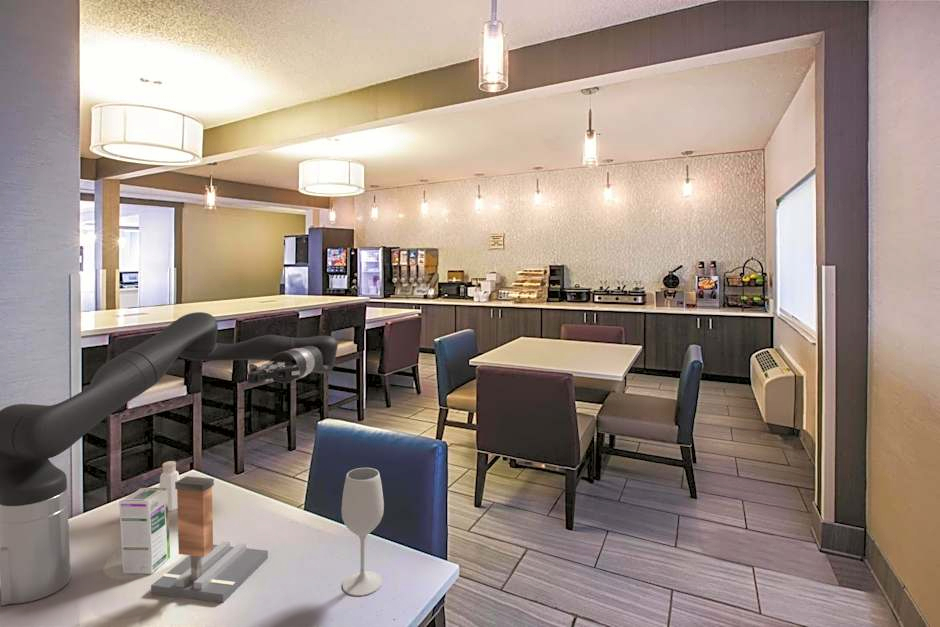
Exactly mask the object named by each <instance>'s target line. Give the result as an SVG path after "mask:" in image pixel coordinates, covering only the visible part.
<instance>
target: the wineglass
mask: <svg viewBox="0 0 940 627" xmlns="http://www.w3.org/2000/svg"><path fill="white" fill-rule="evenodd" d="M380 474H381V473H380V472H379V470H378V469H376V468H372V467H359V468H354V469H352V470H349V471H348V472H347V473H346V475H345V481H344V485H343V492H342V498H341V499H342V500H341V519H342V520H343V523H344V526H345V527H346V528H347V529H348V530H349V531H350V532H351V533H353V534H354V535H356V536H358V537H359V540H360V571H357V572H353V573H352V574H349V575H348V576H347V577H346V578H345V579H344V580H343V581H342V590H343V591H344V592H345V594H348V595H350V596H354V597H364V596H368V595H371V594H373V593H375V592H377V591H379V589H380V588H381V587H382V584H383V578H382V576H381V575H380V574H378V572H374V571H370V570H365V559H366V558H365V552H366V551H365V547H366V546H365V544H366V543H365V542H366V537H367V536H368V535H369V534H370V533H371V532H373V531H374V530H375V529H376V528H377V526H379V524H380V523H381V521H382V518H383V516H384V512H385V511H384V509H385V508H384V507H385V502H384V493H383V485H382V479H381V476H380Z"/></svg>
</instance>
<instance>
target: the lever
mask: <svg viewBox="0 0 940 627" xmlns="http://www.w3.org/2000/svg"><path fill="white" fill-rule="evenodd" d="M214 481H215V479H214V478H211V477H199V476H187V475H186V476H185V477H183V478H181V479H180V480H179V481H177V482H175V489H177V503H178V509H177V539H178V540H177V541H178V543H177V544H178V555H185V556H189V555H191V581H196V580H197V579H198V578H199V577H200V576H201V575H202V557H205V556H206V555H207V554H209V553H210V552H211V551H212V550H213V545H214V532H213V531H214V530H213V529H214V527H213V526H214V524H213V519H214V518H213V486H215V484H214V483H215V482H214Z"/></svg>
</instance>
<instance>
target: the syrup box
mask: <svg viewBox="0 0 940 627" xmlns="http://www.w3.org/2000/svg"><path fill="white" fill-rule="evenodd" d="M169 517H170V516H169V511H168V494H167V489H164V488H159V487H139V489H138V490H136V491H135V492H133V493H131V494H129V495H128V496H125V497H124V498H123V499H121V500H119V520H120V523H119V524H120V541H121V543H120V545H121V560H122V561H121V562H122V563H121V564H122V573H123V574H131V575H152V574H154V572H155V571H156V570H157V569H159V568H160V567H161V566H162V565H163V564H164V563H165V562H167V560H169V559H170V557H171V547H170V546H171V544H170V542H171V541H170V523H169Z"/></svg>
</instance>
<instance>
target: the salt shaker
mask: <svg viewBox="0 0 940 627" xmlns="http://www.w3.org/2000/svg"><path fill="white" fill-rule="evenodd" d="M176 465H177V462H176V461H175V460H170V461H165V462H163V463H162V472H161V474H160V477H159V487H158V488H164V489H167V494H168V512H172V511H175V510H178V503H177V489H175V482H177V481H179V480H181V479H180V474H179V473H180V472H179V471H178V470H176V468H177V466H176Z"/></svg>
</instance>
